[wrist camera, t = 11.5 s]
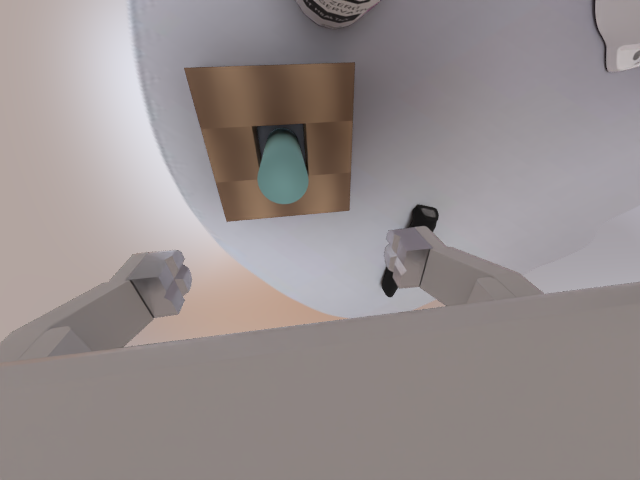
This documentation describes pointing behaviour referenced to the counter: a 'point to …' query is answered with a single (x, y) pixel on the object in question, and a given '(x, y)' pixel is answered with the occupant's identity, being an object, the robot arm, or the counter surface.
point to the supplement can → (336, 11)
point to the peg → (282, 168)
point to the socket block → (276, 109)
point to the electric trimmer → (420, 218)
